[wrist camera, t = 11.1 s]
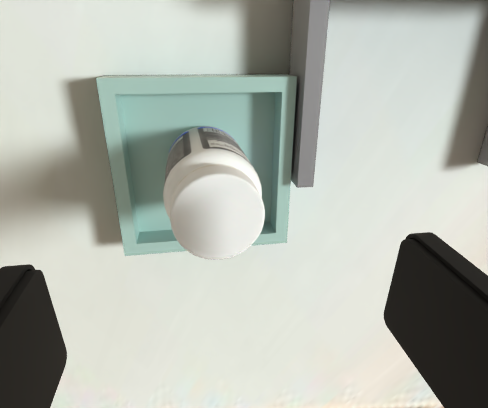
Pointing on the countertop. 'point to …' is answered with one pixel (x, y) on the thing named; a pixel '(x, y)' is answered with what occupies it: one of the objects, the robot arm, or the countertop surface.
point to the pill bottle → (212, 194)
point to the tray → (180, 120)
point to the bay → (314, 86)
